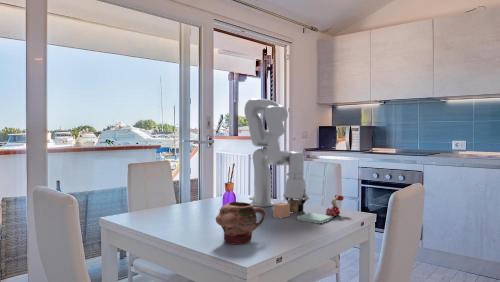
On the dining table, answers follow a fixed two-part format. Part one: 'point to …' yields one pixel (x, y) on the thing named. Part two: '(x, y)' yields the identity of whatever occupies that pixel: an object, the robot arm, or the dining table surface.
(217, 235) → the dining table surface
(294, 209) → the walnut brick
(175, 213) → the dining table surface
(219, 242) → the dining table surface
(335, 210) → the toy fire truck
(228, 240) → the brown sculpted mug
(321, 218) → the board
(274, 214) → the terracotta brick
